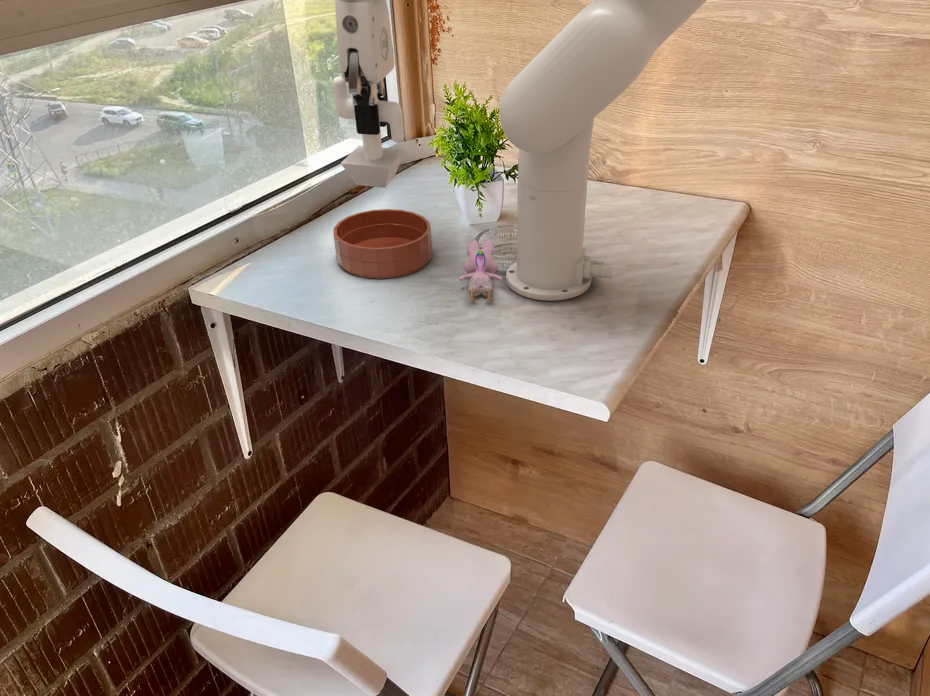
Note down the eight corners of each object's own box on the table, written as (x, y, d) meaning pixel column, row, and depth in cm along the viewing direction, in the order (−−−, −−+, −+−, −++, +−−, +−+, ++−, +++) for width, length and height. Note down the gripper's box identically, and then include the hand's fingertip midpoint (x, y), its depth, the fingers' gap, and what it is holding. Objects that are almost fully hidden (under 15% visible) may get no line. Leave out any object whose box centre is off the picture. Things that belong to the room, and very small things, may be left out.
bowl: (440, 241, 125) (439, 212, 122) (420, 282, 113) (417, 251, 110) (353, 235, 126) (350, 206, 123) (324, 276, 115) (319, 245, 112)
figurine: (398, 193, 109) (390, 84, 100) (336, 187, 111) (322, 79, 102) (414, 174, 115) (407, 69, 106) (354, 168, 116) (342, 65, 107)
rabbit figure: (502, 310, 109) (500, 249, 120) (503, 277, 105) (500, 216, 116) (458, 311, 109) (460, 250, 120) (457, 277, 105) (459, 217, 115)
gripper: (368, -5, 91) (382, 150, 101) (402, -25, 104) (412, 114, 114) (307, -7, 91) (327, 147, 102) (349, -26, 105) (363, 112, 115)
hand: (372, 128), depth 108 cm, fingers closed on figurine, 2 cm apart
